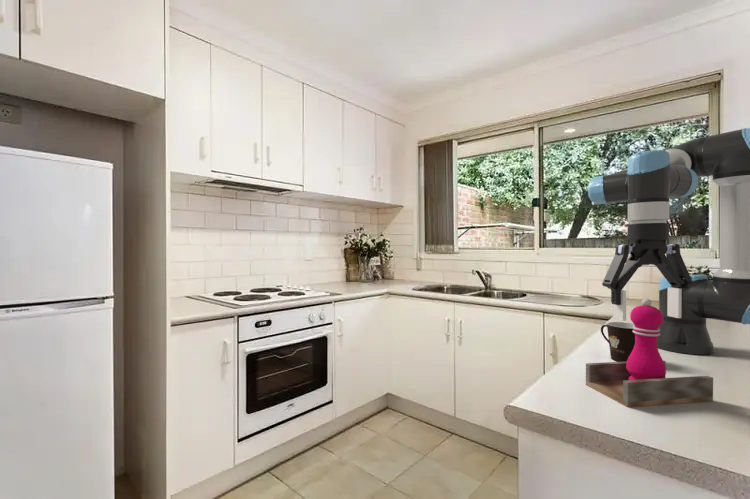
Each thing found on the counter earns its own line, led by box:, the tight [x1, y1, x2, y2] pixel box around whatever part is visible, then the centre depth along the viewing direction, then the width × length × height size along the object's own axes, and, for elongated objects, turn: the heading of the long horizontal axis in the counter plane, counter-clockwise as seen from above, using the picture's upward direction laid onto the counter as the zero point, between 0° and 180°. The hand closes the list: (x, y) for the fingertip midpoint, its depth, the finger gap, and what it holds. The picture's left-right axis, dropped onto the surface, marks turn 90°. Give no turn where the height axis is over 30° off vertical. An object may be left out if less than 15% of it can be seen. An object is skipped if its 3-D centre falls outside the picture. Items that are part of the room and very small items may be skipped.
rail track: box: [585, 359, 714, 408], centre depth 85 cm, size 20×12×5 cm, turn 98°
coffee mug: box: [600, 321, 635, 362], centre depth 109 cm, size 12×9×10 cm
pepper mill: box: [626, 298, 667, 380], centre depth 85 cm, size 7×7×20 cm
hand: (647, 318), depth 85 cm, fingers open, 13 cm apart
